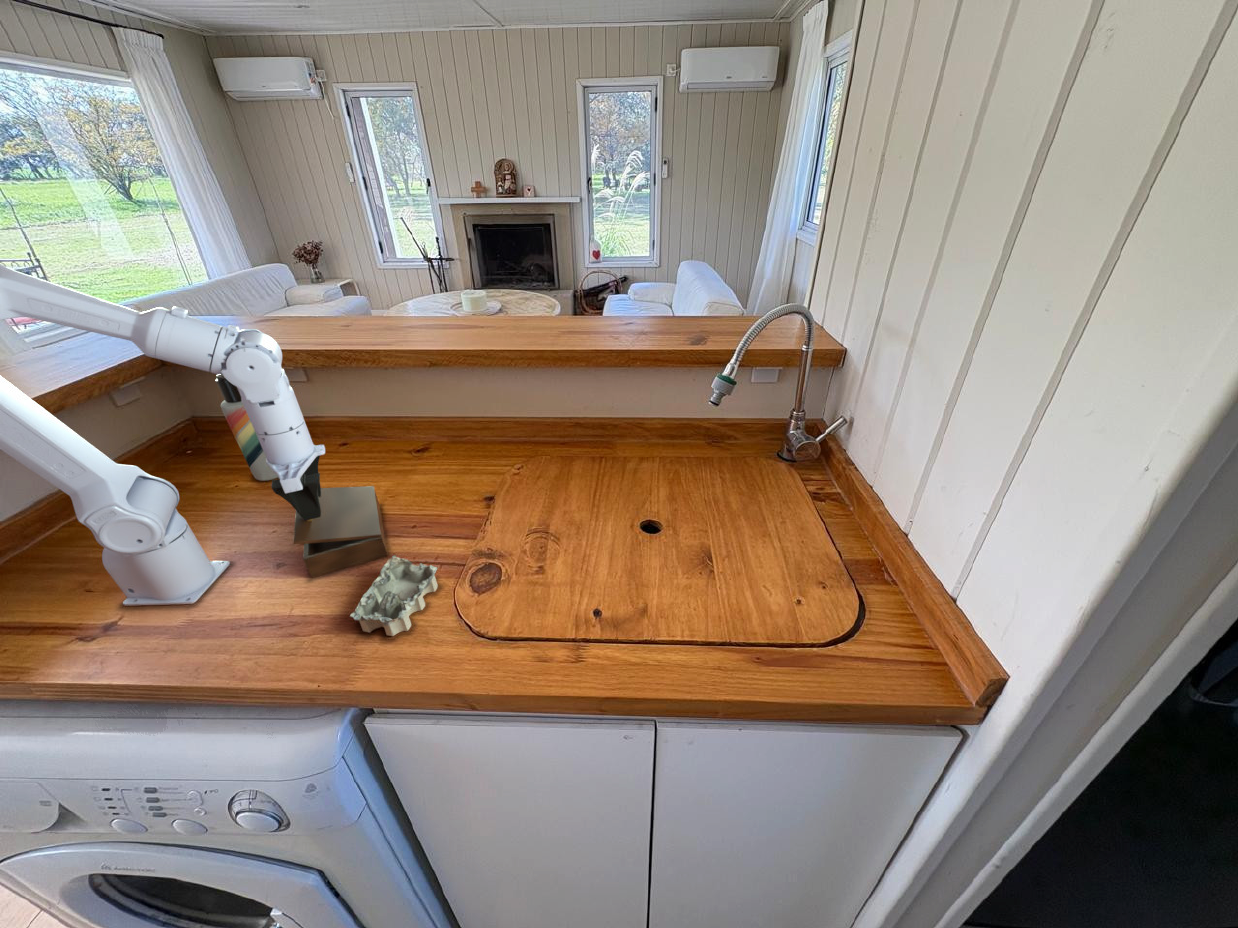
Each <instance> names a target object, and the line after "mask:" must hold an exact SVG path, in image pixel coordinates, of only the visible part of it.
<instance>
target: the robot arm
mask: <svg viewBox="0 0 1238 928" xmlns="http://www.w3.org/2000/svg"><path fill="white" fill-rule="evenodd" d="M188 313H189V311H188V309H187V308H183V307H180V306H177V305H175V306H173V307H172V308H171V309H169V308H168V309H167V308H165V307H162V306H159V307H155V308H152V309H150V310H146V311H142V312H141V311H138V310H134V309H131V308H129V307H126V306H123V305H120V304H117V303H113V302H110V301H108V300H105V299H102V298H99V297H95V296H93V295H90V294H86V293H83V292H80V291H77V290H75V289H71V288H68V287H65V286H62V285H59V284H57V283H53V282H50V281H48V280H44V279H42V278H39V277H35V276H32V275H29V274H27V273H24V272H20V271H18V270H15V269H13V268H10V267H8V266H7V265H3V264H1V263H0V321H4V320H10V319H16V318H29V319H34V320H37V321H41V322H47V323H51V324H54V325H55V324H56V325H60V326H64V327H69V328H73V329H78V330H82V331H86V332H90V333H94V334H98V335H99V334H100V335H102V336H106V337H112V338H116V339H121V340H124V341H125V340H126V341H129V342H132V343H133V345H135V346H136V347H137V348H138V350H140V351H141V352H142V353H143V355H145V356H147V357H149V358H152V359H153V358H154V359H157V360H161V361H165V362H169V363H173V364H177V365H181V366H185V367H188V368H191V369H196V370H200V371H204V372H207V373H212V374H215V375H219V374H223V376H224V377H225V378H226V379H227V380H228V381H229V382H230V383H231V384H233V385H235V386H236V387H237V388H238V391H239V393H240V395H241V397H242V398H241V400H242V403H243V405H244V407H245V410H246V412H247V414H248V416H249V419H250V421H251V423H252V426H253V428H254V430H255V432H256V435H257V437H258V440H259V442H260V444H261V446H262V449H263V451H264V453H265V456H266V462H267V464H268V466H269V467H270V469H271V470H272V471H273V472H274V473H275V474H276V475H277V476H278V478H276V479H272V481H271V484H270V485H271V486H270V487H271V490H272V491H273V493H274V494H276V495H277V496H279V497H281V498H282V499H284V501H286V502H288V503H289V504H290V505H291V506H292V507H293V508H294V510H295V512H296V511H297V512H298V513H299V515H300V516H301V517H302V518H303V519H304V520H310V519H314V518H318V517H320V516H321V507H320V502H319V497H321V488H322V487H321V486H322V485H321V481H320V480H321V472H319V462H320V457H321V456H324V455H325V454H326V446H325V444H318V445H316V444H314V442H313V440H312V436H311V434H310V431H309V429H308V426H307V424H306V421H305V418H304V415H303V412H302V410H301V407H300V404H299V402H298V399H297V397H296V394H295V391H294V389H293V387H292V386H291V385H290V379H289V378H288V376H287V374H286V372H285V369H284V368H282V367H283V366H282V363H283V352H282V348H281V346H280V345H279V343H278V342H277V341H276V340H275V339H274V338H273V337H271V336H270V335H269V334H266V333H264V332H262V331H261V330H259V329H257V328H244V329H240V328H239V326H237V325H232V324H229V325H228V326H227V327H226V326H223V325H220V324H217V323H213V322H212V321H211V322H210V321H207V320H204V319H200V318H197V317H194V316H190V315H188ZM0 451H2V452H3V453H5V454H7V455H8V456H10V457H11V458H12V459H14V460H16V461H17V462H19V463H20V464H21V465H23V466H24V467H26V468H28V469H29V470H30V471H32V472H33V473H35V474H36V475H38V476H39V477H41V478H43V479H44V480H45V481H47V482H48V483H49V484H51V485H52V486H54V487H55V488H57V489H59V490H60V491H62V492H63V493H64V494H65V495H68V496H69V498H70V499H71V502H72V506H73V509H74V513H75V516H76V519H77V521H78V522H79V523H81V524H82V525H83V526H85V527H86V528H88V529H89V530H90V531H91V532H92V535H93V537H94V539H95V540H96V542H97V543H98V544H99V545H100V546H101V547H102V548H103V550H102V554H101V560H102V565H103V567H104V569H105V570H106V572H107V573H108V575H109V576H110V577H111V578H112V579H113V581H114V582H115V584H116V585H117V586H118V588H119V589H120V591H121V592H122V593H123V594H124V596H125V597H126V599H124V600H123V602H122V605H123V606H124V607H129V606H131V607H133V606H135V607H136V606H161V605H162V606H164V605H165V606H166V605H167V606H168V605H170V606H171V605H191V604H194V603H196V602H197V601H199V599H200V598H201V597H202V596H203V595H204V593H205V592H207V590H209V588H210V587H211V586H212V584H214V583H215V581H216V580H217V579H219V577H220V576H221V575H222V573H224V571H225V570H226V569H227V568H228V567H229V566H230V565H231V562H230V561H229V560H212V561H211V560H210V559H209V557H208V556H207V553H206V552H205V550H204V548H203V547H202V545H201V544H200V542H199V540H198V539H197V537H196V534H194V532H193V530H192V528H191V527H190V525H189V523H188V522H187V519H185V517H184V516H182V515H181V514H180V513H179V511H178V510H177V507H178V504H179V502H180V493H179V490H178V489H177V488H176V486H175V485H174V484H173V483H171V482H170V481H168V480H166V479H165V478H161V477H157V476H156V475H155V476H154V475H151V474H149V473H147V472H145V471H144V470H143V469H141V467H139V466H137V465H132V464H122V463H117V462H115V461H114V460H113V459H111V458H109V457H108V456H107V455H106V454H104V452H102V451H100V450H99V449H98V448H96V446H94V445H93V444H91V443H90V442H89V441H88V440H87V439H85V438H84V437H82V436H81V435H79V434H78V433H77V432H76V431H74V430H73V429H71V428H70V427H69V426H68V425H66V424H65V423H64V422H62V421H61V420H60V419H59V418H57V417H56V416H55V415H53V414H52V413H51V412H49V411H48V410H46V408H44V407H43V406H41V405H40V404H38V403H37V402H36V401H35V400H33V399H32V398H30V397H29V396H28V395H27V394H25V393H24V392H23V391H22V390H20V389H19V388H18V387H16V386H15V385H14V384H12V383H11V382H9V381H8V380H7V379H6V378H4V377H3V376H2V375H0Z"/></svg>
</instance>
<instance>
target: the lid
mask: <svg viewBox="0 0 1238 928" xmlns="http://www.w3.org/2000/svg"><path fill="white" fill-rule="evenodd" d="M374 489H375V486H374V485H371V486H370V485H364V486H340V487H339V486H338V487H321V497H319V502H320V507H321V516H320V517H318V518H314V519H310V520H304V519H303V518H302V517H301V516H300V515H299V513H298V512H297V511H296V510H295V515H294V527H293V541H292V545H304V544H308V543H320V542H332V541H344V540H356V539H368V538H380V537H381V530H380V523H379V517H378V510H377V504H376V497H375V493H376V490H375V491H374Z"/></svg>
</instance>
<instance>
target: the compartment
mask: <svg viewBox="0 0 1238 928" xmlns="http://www.w3.org/2000/svg"><path fill="white" fill-rule="evenodd" d="M374 491H375V497H376V504H377V510H378V517H379V523H380V530H381V537H380V538H368V539H356V540H344V541H332V542H320V543H308V544H303V557H302V558H303V559H302V560H303V562H304V565H305V567H306V569H307V571H308V573H309V576H310V578H311V579H314V578H319V577H321V576H324V575H328V574H331V573H334V572H338V571H341V570H346V569H349V568H352V567H356V566H359V565H362V564H365V563H369V562H372V561H376V560H379V559H382V558H386V557H388V556H389V553H388V548H387V541H386V536H385V530H384V529H385V528H384V523H383V518H382V517H383V515H382V510H381V505H380V501H379V498H378V495H377V492H376V490H375V488H374Z"/></svg>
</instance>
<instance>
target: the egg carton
mask: <svg viewBox="0 0 1238 928" xmlns="http://www.w3.org/2000/svg"><path fill="white" fill-rule="evenodd" d="M438 569H439V567H437V566H434V565H431V564H430V565H426V564H423V563H422V562H421V563H419V565H415V564H413V563H412V562H411V561H410V560H409V559H407V558H404V557H403V558H401V557H398V556H397V555H396V554H393V555H392V556H391V558H388V559H387V561H386V563H385V564H383V566H382V568H381V569H380V572H379V575H378V576H377V578H376V579H374V580H373V581H372V584H371V586H370V587H369V589H367V591H366V592H365V593H364V594H363V595H362V596H361V599H360V600H359V602H358V604H357V606H356V607H355V610H354V611H353V612H352V613H351V614H350V615H349V618H350V617H351V618H353V619H354V620H355V621H358V622H359V624H360V627H361V629H362V632H365V633H371V632H372V631H375V630H376V629H380V628H384V631H385V634H386V636H390V637H394V636H396V635H397V634H399V633H402V632H408V631H409V630H410V629H411V627H412V622H411V619H410V616H411V615H412V614H413V613H415V612H420V611H423V609H425V607H426V601H425V599H424V596H425V595H426V594H429V593H435V592H436V591H437V589H438V586H439V585H438V582H437V579H436V575H435V574H436V573H437V570H438Z"/></svg>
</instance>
